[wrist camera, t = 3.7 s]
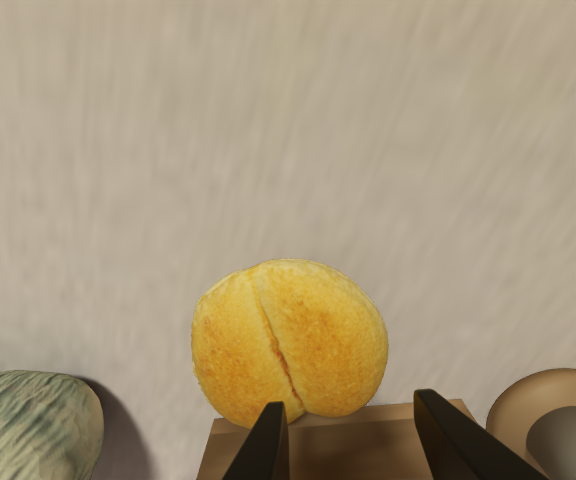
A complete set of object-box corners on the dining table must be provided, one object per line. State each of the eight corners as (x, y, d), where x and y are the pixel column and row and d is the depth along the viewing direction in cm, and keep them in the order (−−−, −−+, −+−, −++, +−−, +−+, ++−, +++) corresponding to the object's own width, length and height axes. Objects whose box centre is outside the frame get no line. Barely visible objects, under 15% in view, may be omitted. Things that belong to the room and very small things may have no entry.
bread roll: (393, 375, 16) (421, 448, 12) (234, 405, 17) (213, 479, 13) (361, 229, 14) (382, 264, 10) (179, 275, 15) (136, 321, 11)
